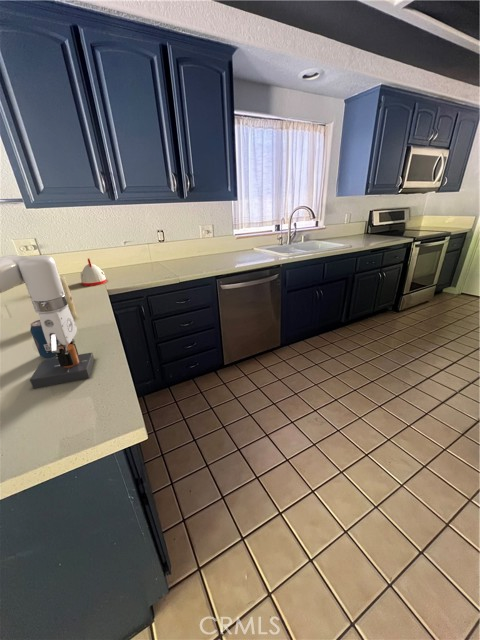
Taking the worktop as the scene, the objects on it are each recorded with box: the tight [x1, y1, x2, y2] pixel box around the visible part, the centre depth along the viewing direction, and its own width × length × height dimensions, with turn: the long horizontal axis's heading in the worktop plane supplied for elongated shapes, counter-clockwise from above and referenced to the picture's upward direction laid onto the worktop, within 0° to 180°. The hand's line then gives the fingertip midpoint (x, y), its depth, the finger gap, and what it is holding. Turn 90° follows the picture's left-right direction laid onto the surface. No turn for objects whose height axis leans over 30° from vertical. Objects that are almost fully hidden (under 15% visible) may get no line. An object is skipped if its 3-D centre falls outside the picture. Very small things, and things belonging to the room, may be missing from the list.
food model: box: [59, 274, 78, 320], centre depth 110 cm, size 10×7×20 cm
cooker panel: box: [29, 352, 95, 389], centre depth 79 cm, size 14×10×3 cm
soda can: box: [29, 319, 61, 360], centre depth 87 cm, size 7×7×12 cm
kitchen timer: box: [80, 258, 107, 287], centre depth 165 cm, size 14×14×15 cm
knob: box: [59, 343, 79, 368], centre depth 78 cm, size 4×4×6 cm
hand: (69, 360), depth 78 cm, fingers closed on knob, 4 cm apart
